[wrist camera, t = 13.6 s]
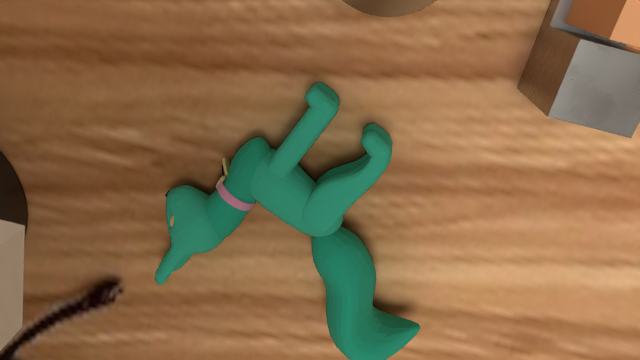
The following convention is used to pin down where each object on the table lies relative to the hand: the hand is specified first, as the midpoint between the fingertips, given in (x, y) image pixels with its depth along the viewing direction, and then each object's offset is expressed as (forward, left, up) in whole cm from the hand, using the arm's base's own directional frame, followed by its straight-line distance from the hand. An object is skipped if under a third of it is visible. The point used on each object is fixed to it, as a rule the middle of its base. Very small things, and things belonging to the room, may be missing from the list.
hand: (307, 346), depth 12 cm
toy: (0, -13, -29) cm, 32 cm away
